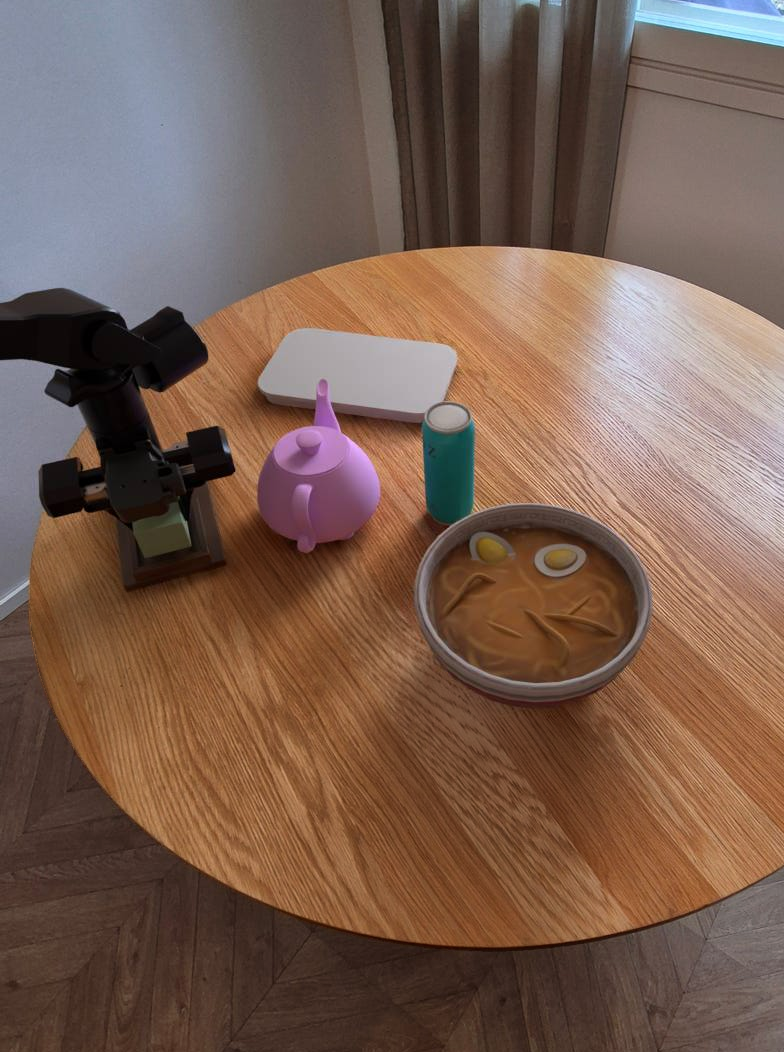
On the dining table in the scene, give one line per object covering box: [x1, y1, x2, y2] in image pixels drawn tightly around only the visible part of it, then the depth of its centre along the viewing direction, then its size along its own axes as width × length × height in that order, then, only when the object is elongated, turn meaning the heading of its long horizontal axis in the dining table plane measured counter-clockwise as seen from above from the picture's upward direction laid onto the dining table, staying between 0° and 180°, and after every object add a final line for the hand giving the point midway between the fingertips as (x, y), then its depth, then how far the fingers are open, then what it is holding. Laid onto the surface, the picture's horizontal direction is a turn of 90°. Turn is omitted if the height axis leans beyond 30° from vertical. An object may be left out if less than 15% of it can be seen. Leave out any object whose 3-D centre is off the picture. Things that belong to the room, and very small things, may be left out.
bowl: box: [413, 502, 654, 710], centre depth 79 cm, size 23×23×10 cm
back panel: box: [115, 481, 228, 593], centre depth 91 cm, size 11×17×5 cm, turn 21°
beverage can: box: [421, 400, 476, 527], centre depth 90 cm, size 6×6×15 cm
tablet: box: [257, 327, 459, 424], centre depth 112 cm, size 16×26×2 cm, turn 79°
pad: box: [132, 496, 191, 558], centre depth 88 cm, size 5×7×4 cm
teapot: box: [256, 379, 381, 554], centre depth 91 cm, size 20×14×12 cm
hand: (162, 524), depth 88 cm, fingers closed on pad, 5 cm apart
